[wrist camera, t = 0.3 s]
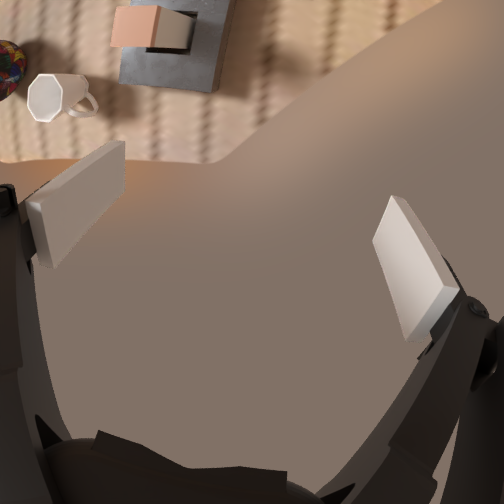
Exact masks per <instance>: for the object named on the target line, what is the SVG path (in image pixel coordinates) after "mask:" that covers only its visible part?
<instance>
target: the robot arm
mask: <svg viewBox="0 0 504 504" xmlns="http://www.w3.org/2000/svg"><path fill="white" fill-rule="evenodd" d="M124 192H125V141H118V140H111V141H110V142H108V143H106V144H105V145H103V146H101V147H100V148H98V149H97V150H95V151H93V152H92V153H90V154H89V155H87V156H86V157H84V158H83V159H81V160H80V161H78V162H77V163H75V164H74V165H72V166H71V167H69V168H68V169H67V170H65V171H64V172H63V173H61V174H59V175H58V176H57V177H55V178H54V179H53V180H51V181H48V182H47V183H45V184H44V185H42V186H41V187H40V189H37V190H36V191H35V192H34V193H32V194H31V195H29V196H28V197H27V198H26V199H25V200H23V201H22V202H21V203H20V204H18V203H17V198H16V193H15V188H14V185H12V184H2V185H0V504H429V503H430V501H431V499H432V497H433V496H434V493H435V491H436V489H437V481H436V480H435V479H433V478H432V474H433V472H434V470H435V468H436V466H437V464H438V462H439V460H440V458H441V456H442V454H443V452H444V450H445V448H446V446H447V444H448V442H449V439H450V437H451V435H452V433H453V430H454V428H455V426H456V423H457V421H458V418H459V416H460V418H459V424H458V431H457V436H456V441H455V447H454V452H453V456H452V461H451V465H450V470H449V473H448V478H447V481H446V485H445V488H444V492H443V496H442V499H441V502H440V504H504V316H503V317H502V319H501V320H500V321H499V323H497V322H495V321H493V320H491V319H489V313H488V311H487V309H486V308H485V306H484V305H483V304H482V303H481V302H480V301H479V300H477V299H475V298H473V297H471V296H467V295H466V293H465V291H464V289H463V287H462V286H461V284H460V282H459V280H458V278H456V277H457V276H456V275H455V273H454V272H453V270H452V268H451V266H450V264H449V263H448V261H447V260H446V259H445V258H444V257H443V256H442V255H441V254H440V253H439V251H438V249H437V248H436V246H435V244H434V243H433V241H432V240H431V238H430V237H429V235H428V233H427V232H426V230H425V229H424V227H423V225H422V224H421V222H420V221H419V219H418V218H417V216H416V215H415V213H414V212H413V210H412V209H411V208H410V206H409V205H408V203H407V202H406V200H405V199H403V198H400V197H396V196H393V195H391V197H390V200H389V203H388V205H387V208H386V210H385V212H384V215H383V217H382V220H381V222H380V224H379V227H378V229H377V231H376V234H375V236H374V238H373V241H372V242H373V245H374V247H375V250H376V252H377V255H378V258H379V261H380V263H381V266H382V269H383V272H384V275H385V278H386V281H387V284H388V287H389V290H390V293H391V296H392V299H393V302H394V305H395V308H396V312H397V315H398V318H399V321H400V325H401V328H402V331H403V335H404V339H405V341H409V342H418V343H421V342H422V341H423V340H424V339H425V337H426V336H427V335H428V333H429V332H430V334H431V337H432V341H431V342H430V344H429V345H428V346H427V347H426V348H425V350H424V351H423V352H422V353H421V354H420V356H419V357H418V358H417V359H418V360H419V362H418V363H417V365H416V367H415V369H414V370H413V372H412V374H411V375H410V377H409V378H408V380H407V382H406V383H405V385H404V387H403V388H402V390H401V391H400V393H399V394H398V396H397V397H396V399H395V400H394V402H393V403H392V405H391V406H390V408H389V409H388V411H387V412H386V413H385V415H384V416H383V418H382V419H381V420H380V422H379V423H378V425H377V426H376V427H375V429H374V430H373V431H372V433H371V434H370V435H369V437H368V438H367V439H366V441H365V442H364V443H363V444H362V446H361V447H360V448H359V450H358V451H357V452H356V453H355V454H354V456H353V457H352V458H351V459H350V460H349V462H348V463H347V464H346V465H345V466H344V467H343V469H342V470H341V471H340V472H339V473H338V474H337V475H336V476H335V477H334V478H333V479H332V480H331V481H330V482H328V483H327V484H326V485H325V486H323V487H322V488H321V489H320V490H319V491H318V492H317V493H316V494H315V495H314V494H313V493H312V492H310V491H309V490H307V489H305V488H303V487H302V486H299V485H297V484H295V483H293V482H290V481H287V471H276V470H266V469H257V468H249V467H241V466H238V467H224V468H204V469H203V468H202V469H190V468H186V467H183V466H181V465H179V464H177V463H175V462H173V461H171V460H169V459H167V458H165V457H163V456H161V455H159V454H157V453H156V452H154V451H152V450H150V449H149V448H147V447H145V446H143V445H141V444H138V443H135V442H132V441H129V440H125V439H123V438H120V437H117V436H114V435H111V434H108V433H105V432H103V431H100V430H98V433H97V435H96V438H95V439H93V438H90V439H89V438H88V439H87V438H81V439H72V438H71V436H70V433H69V432H68V430H67V428H66V426H65V424H64V422H63V420H62V417H61V415H60V411H59V408H58V405H57V401H56V398H55V394H54V390H53V387H52V383H51V379H50V375H49V370H48V366H47V361H46V357H45V352H44V347H43V341H42V336H41V330H40V324H39V317H38V310H37V302H36V293H35V283H34V273H33V272H34V271H33V264H32V260H31V258H32V256H33V255H34V254H35V253H37V256H38V260H39V263H40V265H42V266H45V267H49V268H52V269H55V268H56V267H57V266H58V264H59V263H60V262H61V261H62V260H63V258H64V257H65V256H66V255H67V254H68V252H69V251H70V250H71V249H72V248H73V247H74V245H75V244H76V243H77V242H78V241H79V240H80V239H81V237H82V236H83V235H84V234H85V233H86V232H87V231H88V230H89V229H90V227H91V226H92V225H93V224H94V223H95V222H96V221H97V220H98V219H99V218H100V217H101V215H102V214H103V213H104V212H105V211H106V210H107V209H108V208H109V207H110V206H111V205H112V204H113V203H114V202H115V201H116V200H117V199H118V198H119V197H120V196H121V195H122V194H123V193H124ZM494 371H495V372H494ZM493 372H494V373H493Z"/></svg>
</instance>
